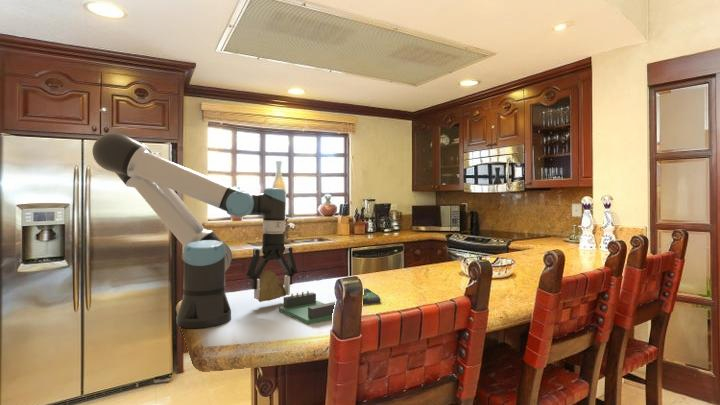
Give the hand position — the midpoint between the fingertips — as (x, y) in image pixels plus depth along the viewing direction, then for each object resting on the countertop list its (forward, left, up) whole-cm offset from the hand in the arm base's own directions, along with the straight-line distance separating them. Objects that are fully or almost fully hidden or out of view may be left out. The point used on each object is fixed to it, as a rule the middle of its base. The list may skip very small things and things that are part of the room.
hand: (272, 296), depth 127 cm
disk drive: (+29, -13, -4) cm, 32 cm away
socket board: (+5, -17, -3) cm, 18 cm away
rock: (0, 0, -1) cm, 1 cm away
